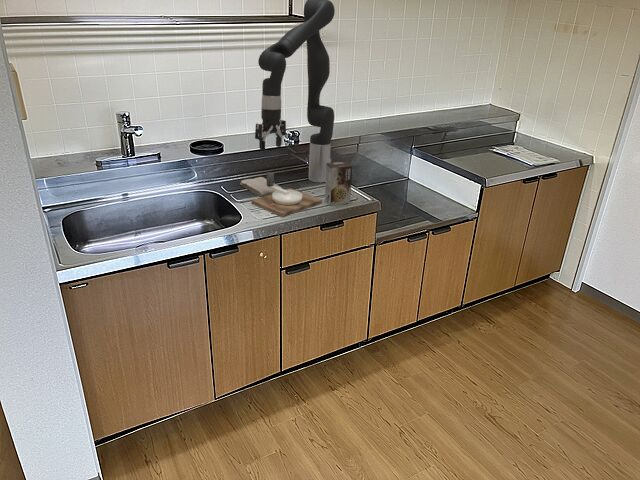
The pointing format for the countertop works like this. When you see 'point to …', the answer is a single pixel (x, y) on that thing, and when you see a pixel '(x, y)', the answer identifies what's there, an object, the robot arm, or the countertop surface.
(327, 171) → the coffee box
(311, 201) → the dial board
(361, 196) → the countertop surface
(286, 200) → the dial
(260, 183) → the washcloth
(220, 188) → the countertop surface
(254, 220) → the countertop surface
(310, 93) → the robot arm
